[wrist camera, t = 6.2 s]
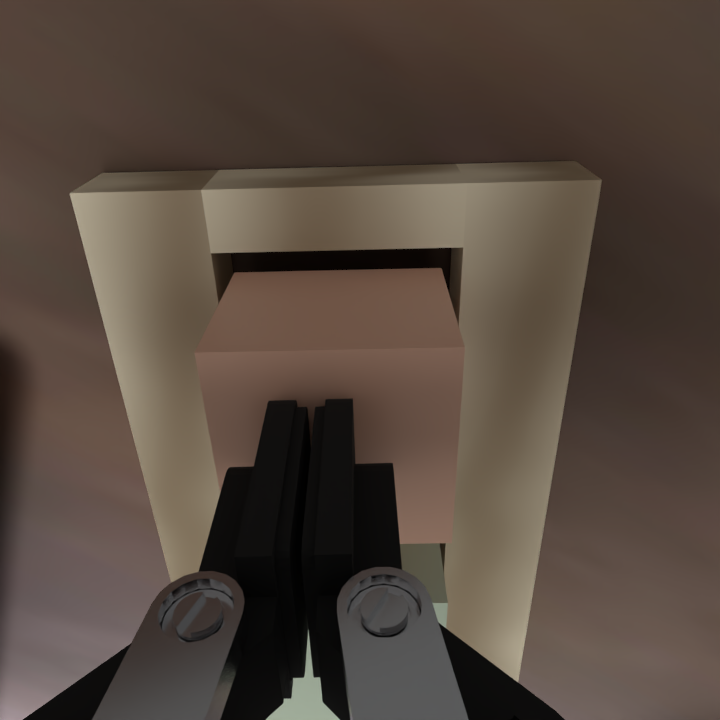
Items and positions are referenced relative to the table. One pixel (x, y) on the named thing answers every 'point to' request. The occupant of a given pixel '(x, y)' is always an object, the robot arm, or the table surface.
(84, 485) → the table surface
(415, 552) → the key sage
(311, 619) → the robot arm
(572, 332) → the keypad base
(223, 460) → the key terracotta
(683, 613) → the table surface
